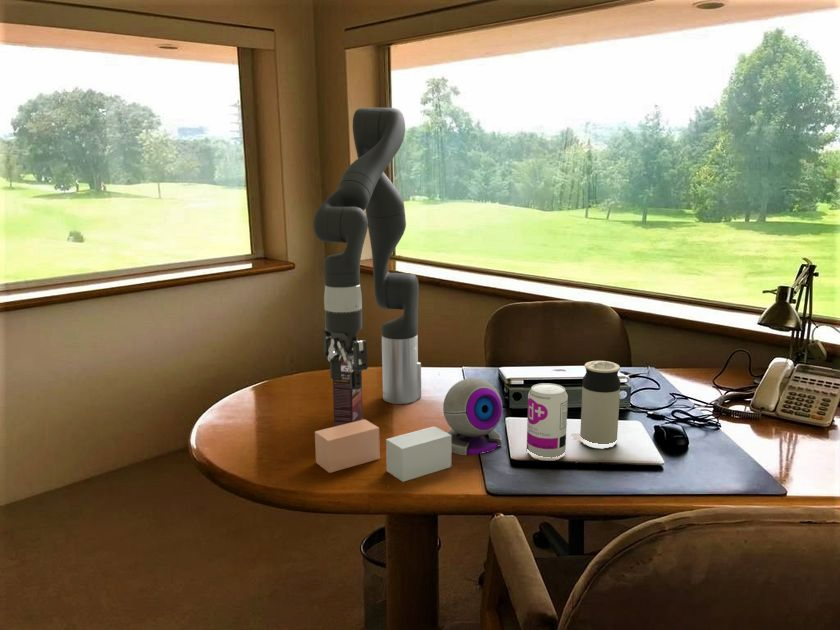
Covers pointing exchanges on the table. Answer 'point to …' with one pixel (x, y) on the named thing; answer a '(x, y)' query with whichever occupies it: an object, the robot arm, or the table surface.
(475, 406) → the webcam
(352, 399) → the supplement box
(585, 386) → the travel mug
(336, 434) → the peach rectangular block
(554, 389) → the supplement can
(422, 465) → the white rectangular eraser
